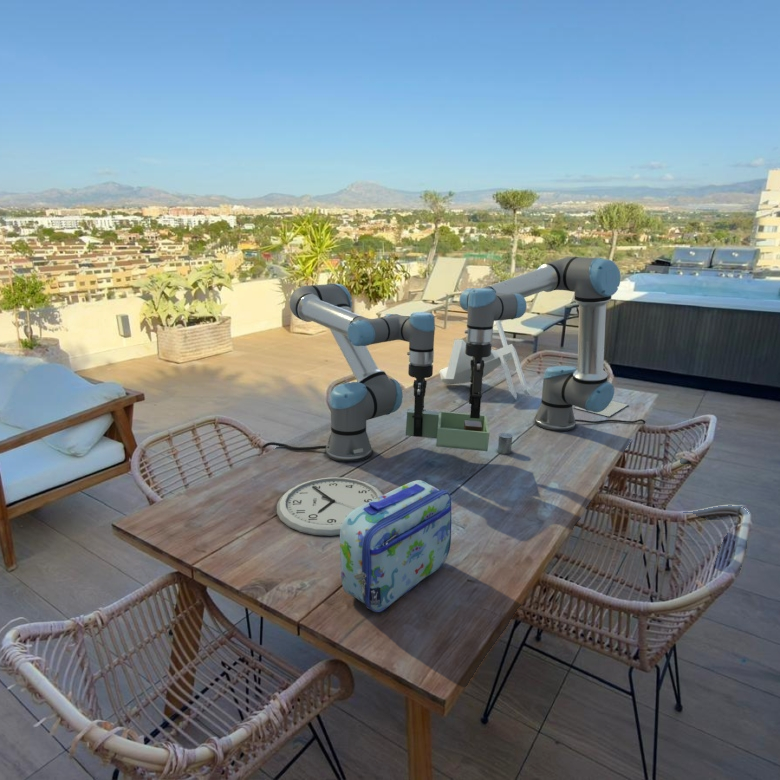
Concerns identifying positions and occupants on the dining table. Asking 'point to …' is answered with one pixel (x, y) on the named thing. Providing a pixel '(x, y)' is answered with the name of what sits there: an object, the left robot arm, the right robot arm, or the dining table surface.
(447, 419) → the tray
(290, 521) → the wall clock
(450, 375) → the white plastic object
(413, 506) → the lunch box
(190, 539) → the dining table surface
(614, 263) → the right robot arm
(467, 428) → the walnut block
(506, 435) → the grey metal peg
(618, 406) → the invitation card
